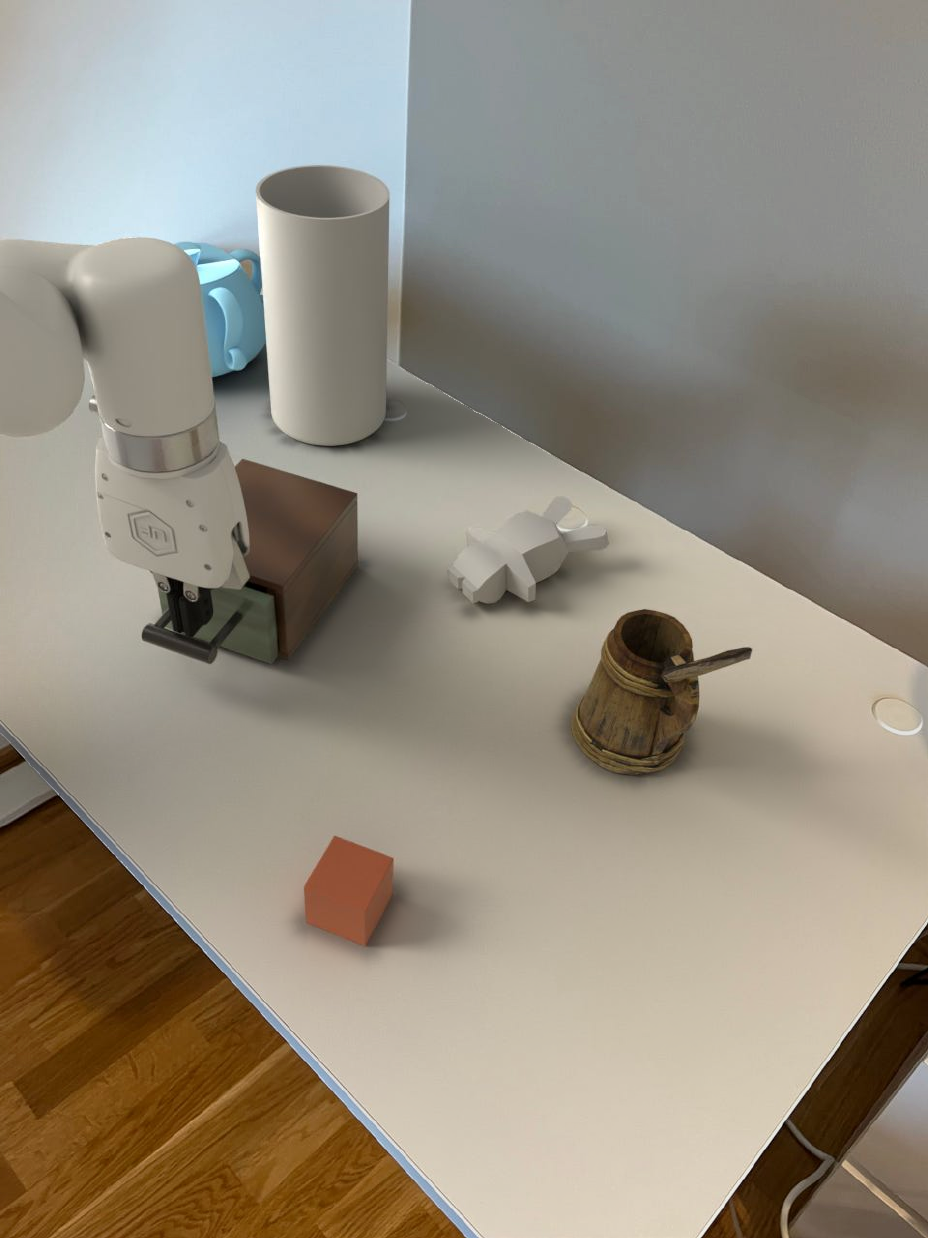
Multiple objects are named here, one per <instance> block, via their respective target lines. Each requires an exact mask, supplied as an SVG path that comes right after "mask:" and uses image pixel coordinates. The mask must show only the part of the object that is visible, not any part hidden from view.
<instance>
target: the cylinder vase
mask: <svg viewBox="0 0 928 1238" xmlns="http://www.w3.org/2000/svg"><path fill="white" fill-rule="evenodd" d="M390 198H391V197H390V190H389V187H388V186H387V185H386V183H385V182H383V181H382V180H381V179H379V178H378V177H377V176H374V175H373V174H370V173H368V172H365V171H363V170H359V169H355V168H352V167H351V168H350V167H346V166H339V165H329V164H307V165H298V166H292V167H286V168H283V169H280V170H276V171H274V172H271V173H269V174H267V175H265V176H264V177H263V178H262V179H260V181H258V183H257V184H256V186H255V201H256V215H257V216H256V217H257V228H258V229H257V230H258V243H259V257H260V259H261V274H262V295H263V302H264V317H265V331H266V343H265V345H266V357H267V372H268V374H267V375H268V385H269V401H270V413H271V417H272V420H273V422H274V424H275V425H276V426H277V428H278V429H279V430H280V431H281V432H283V434H285V435H286V436H288V437H289V438H292V439H294V440H297V441H298V442H302V443H305V444H308V445H309V444H310V445H314V446H315V445H316V446H324V447H325V446H326V447H330V446H332V447H334V446H343V445H350V444H353V443H357V442H359V441H362V440H365V439H366V438H368V437H370V436H371V435H372V434H375V432H377V430H378V429H379V428H380V427H381V426H382V424H383V422H384V421H385V417H386V414H387V369H388V368H387V366H388V365H387V363H388V353H387V352H388V310H389V309H388V307H389V305H388V304H389V303H388V301H389V256H390V255H389V249H390V248H389V247H390V246H389V244H390V243H389V242H390Z"/></svg>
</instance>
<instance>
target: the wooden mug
mask: <svg viewBox="0 0 928 1238" xmlns="http://www.w3.org/2000/svg"><path fill="white" fill-rule="evenodd" d="M693 647H694V645H693V638H692V636H691V634H690V632H689V631H688V629H687V627H686V626H685V625H684V624H683V623H682V622H681V621H680V620H679V619H677V618H676V617H675V616H672V615H670V614H669V613H664V612H662V611H657V610H655V609H654V610H653V609H647V608H643V609H638V610H633V611H629V612H626V613H624V614H623V615H621V616H620V617H619V618H618V620H617V621H616V623H615V625H614V627H613V628H611V630H610V631H609V632H608V634H607V635H606V638H605V640H604V641H603V644H602V645H601V649H600V660H599V662H598V665H597V667H596V669H595V671H594V674H593V676H592V679H591V680H590V682H589V685H588V688H587V690H586V691H585V694H584V695H583V696H582V697H581V698H580V700H579V702H578V703H577V704H578V705H577V706H576V708H575V710H574V713H573V715H572V717H571V723H570V731H571V733H572V734H571V735H572V737H573V740H574V741H575V743H576V744H577V746H578V748H579V749H580V751H581V752H582V753H583V754H585V756H587V758H589V759H590V760H591V761H592V762H593V763H595V764H597V765H598V766H599V767H601V768H603V769H606V770H609V771H611V772H614V773H616V774H624V775H631V776H635V775H640V774H648V773H654V772H659V771H662V770H664V769H666V768H667V767H668V766H670V765H671V764H673V763H674V761H675V760H676V759H677V758H678V756H679V755H680V753H681V752H682V749H683V747H684V744H685V740H686V734H687V732H688V731H689V730H690V729H691V728H692V727H693V724H694V723H695V722H696V720H697V716H698V712H699V708H700V681H699V677H701V676H703V675H706V674H709V673H712V672H714V671H718V670H721V669H724V668H726V667H730V666H732V665H735V664H738V663H741V662H744V661H748V660H750V659H751V656H752V652H753V648H752V647H750V646H746V647H744V646H743V647H739V648H734V649H728V650H727V649H726V650H724V651H723V652H719V653H716V654H715V655H710V656H708V657H704V658H701V659H697V660H695V654H694V649H693Z"/></svg>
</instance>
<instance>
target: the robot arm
mask: <svg viewBox="0 0 928 1238" xmlns="http://www.w3.org/2000/svg"><path fill="white" fill-rule="evenodd" d="M85 361H86V363H87V366H88V370H89V375H90V380H91V384H92V389H93V395H92V396H91V398H90V399H89V402H88V410H89V412H90V413H91V414H94V415H98V417H99V421H100V426H101V430H102V435H101V436H100V437H99V438H98V440H97V442H96V447H95V461H94V484H95V485H94V487H95V497H96V504H97V513H98V518H99V524H100V529H101V535H102V539H103V542H104V545H105V548H106V550H107V551H108V553H109V554H110V555H112V556H113V557H114V558H115V559H117V560H119V561H121V562H124V563H126V564H129V565H131V566H134V567H137V568H140V569H143V570H146V571H149V573H151V574H152V576H153V579H154V582H155V585H156V587H157V589H158V588H159V590H161V591H162V592H164V593H166V595H167V601H168V606H169V611H170V615H171V620H172V625H173V630H172V631H174V632H177V633H180V634H184V633H185V634H184V635H185V636H188V637H191V638H195V637H194V636H195V634H196V633H197V632H198V631H199V630H200V628H201V627H202V626H203V625H206V624H207V623H208V622H209V621H210V620H211V618H212V616H213V604H212V597H211V590H213V589H214V588H219V587H222V588H227V589H236V590H240V589H242V587H243V586H244V585H245V584H246V583H247V581H248V580H249V579H250V575H249V572H248V570H247V567H246V564H245V561H244V559H243V557H245V556H247V555H248V554H249V549H250V541H249V529H248V522H247V516H246V510H245V505H244V500H243V496H242V492H241V487H240V484H239V480H238V477H237V473H236V470H235V465H234V460H233V459H232V456H231V454H230V453H231V452H230V451H229V448H228V446H227V444H225V443H223V442H222V441H221V440H220V431H219V424H218V423H219V422H218V414H217V408H216V407H217V406H216V400H215V391H214V382H213V377H212V374H211V366H210V358H209V349H208V341H207V333H206V325H205V317H204V309H203V301H202V292H201V285H200V280H199V274H198V271H197V268H196V266H195V264H194V262H193V260H192V259H191V258H190V256H189V255H188V254H187V253H186V252H185V251H184V250H182V249H181V248H179V247H177V246H175V245H173V243H171V242H169V241H166V240H163V239H159V238H153V237H144V236H142V237H140V236H134V237H120V238H115V239H110V240H107V241H104V242H101V243H98V244H78V243H77V244H76V243H67V242H66V243H65V242H53V241H42V240H34V239H23V238H0V436H3V437H11V438H29V437H35V436H40V435H44V434H46V433H49V432H51V431H52V430H54V429H56V428H58V427H59V426H60V425H62V424H64V423H65V422H66V421H67V420H68V419H69V418H70V417H71V416H72V415H73V414H74V412H75V410H76V409H77V406H78V405H79V403H80V401H81V399H82V395H83V393H84V389H85V382H86V381H85V380H86V375H85V374H86V371H85ZM182 632H184V633H182Z"/></svg>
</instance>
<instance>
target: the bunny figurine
mask: <svg viewBox="0 0 928 1238" xmlns="http://www.w3.org/2000/svg"><path fill="white" fill-rule="evenodd" d="M572 508H573V503H572V501H571V500H570V499H569V498H567V497H565V496H563V495H562V496H555V497H554V498H552V500H551V501H550V503H549V504H548V505H547V506H546V508H545V510H544V512H543V513H542V515H539V514H536V513H535V512H532V511H530V510H528V509H526V510H523V511H521V512H518V513H516V514H515V515H513V516H511V517H510V518H508V519H507V520H506V521H505V522H504V523H502V525H501V526H500V527H499V529H498V531H497V532H496V531H493V530H488V529H485V528H481V527H477V526H473V525H472V526H470V527H469V528H468V529H467V530H466V531H465V538H466V539H465V540H466V542H465V543H466V546H465V547H464V548H463V549H462V550H461V552H460V553H459V554H458V555H457V557H456V558H455V560H454V561H453V563H452V565H450V566H449V567H447V581H449V583H451V584H452V585H453V586H454V587H455V588H456V589H457V590H462V595H463V596H465V598H466V599H468V600H469V601H470V603H471V604H476V603H478V602H479V603H480V602H481V603H484V604H487V605H488V604H495V603H497V601H500V600H501V599H502V597H503V596H504V594H505V592H506V591H507V592H510V593H512V594H514V595H515V596H516V597H518V598H520V599H521V600H524V601H525V602H527V603H530V602H533V601H535V600H536V594H537V593H536V591H537V590H536V589H537V583H539V582H541V581H543V580H546V579H548V578H549V577H551V576H552V575H554V574H555V573H556V572H558V571H559V569H560V567H561V566H562V564H563V563H564V560H566V558H567V556H568V554H569V553H573V552H589V551H601V550H604V549H607V548H608V546H609V544H610V540H609V537H608V533H607V530H606V528H605V527H604V526H602V525H598V524H594V525H592V524H591V525H586V526H584V527H580V528H575V529H572V530H568V531H564V532H561V531H560V529H559V528H558V526H557V525H558V524H559V523H560V522H561V521H562V520H563V519H564V518H565V517H566V516H567V515H568V514H569V513H570V512H571V511H572Z"/></svg>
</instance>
